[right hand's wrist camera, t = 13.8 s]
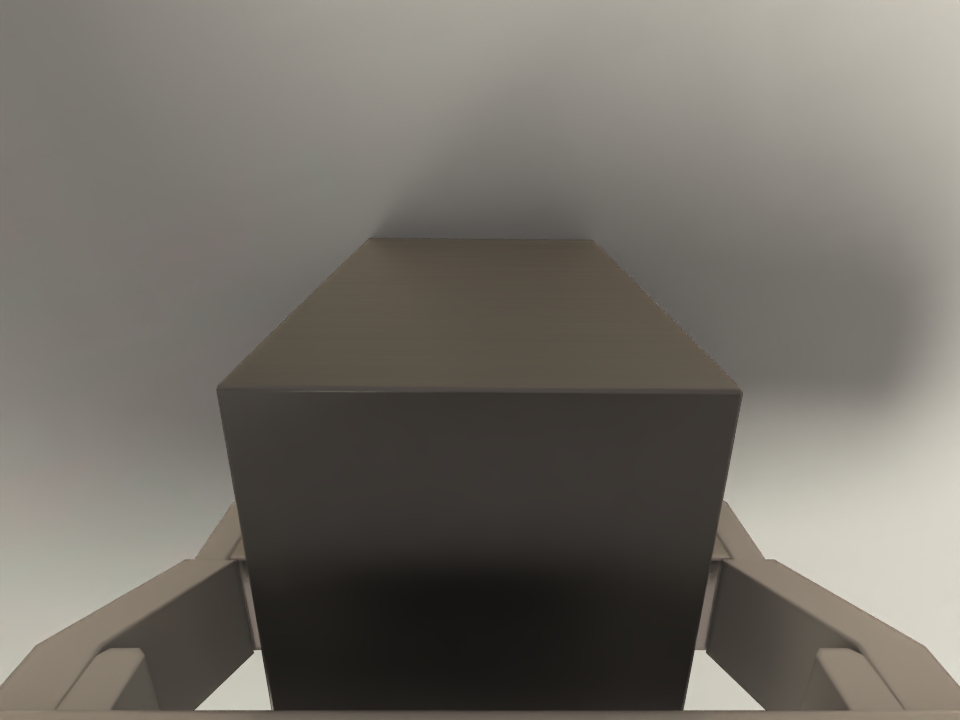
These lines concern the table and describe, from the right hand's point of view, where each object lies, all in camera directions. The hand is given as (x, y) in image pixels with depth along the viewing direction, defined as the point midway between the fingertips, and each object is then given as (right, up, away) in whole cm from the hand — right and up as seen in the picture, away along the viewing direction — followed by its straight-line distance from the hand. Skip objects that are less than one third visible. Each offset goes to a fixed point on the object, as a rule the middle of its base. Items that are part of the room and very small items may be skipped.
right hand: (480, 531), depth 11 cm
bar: (0, -6, +7) cm, 9 cm away
